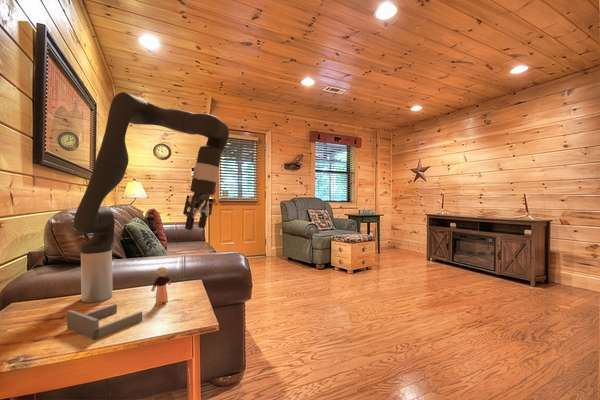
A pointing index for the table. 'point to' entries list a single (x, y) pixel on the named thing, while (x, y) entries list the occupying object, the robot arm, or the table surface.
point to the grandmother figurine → (161, 286)
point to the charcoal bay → (90, 322)
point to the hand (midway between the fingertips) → (195, 228)
